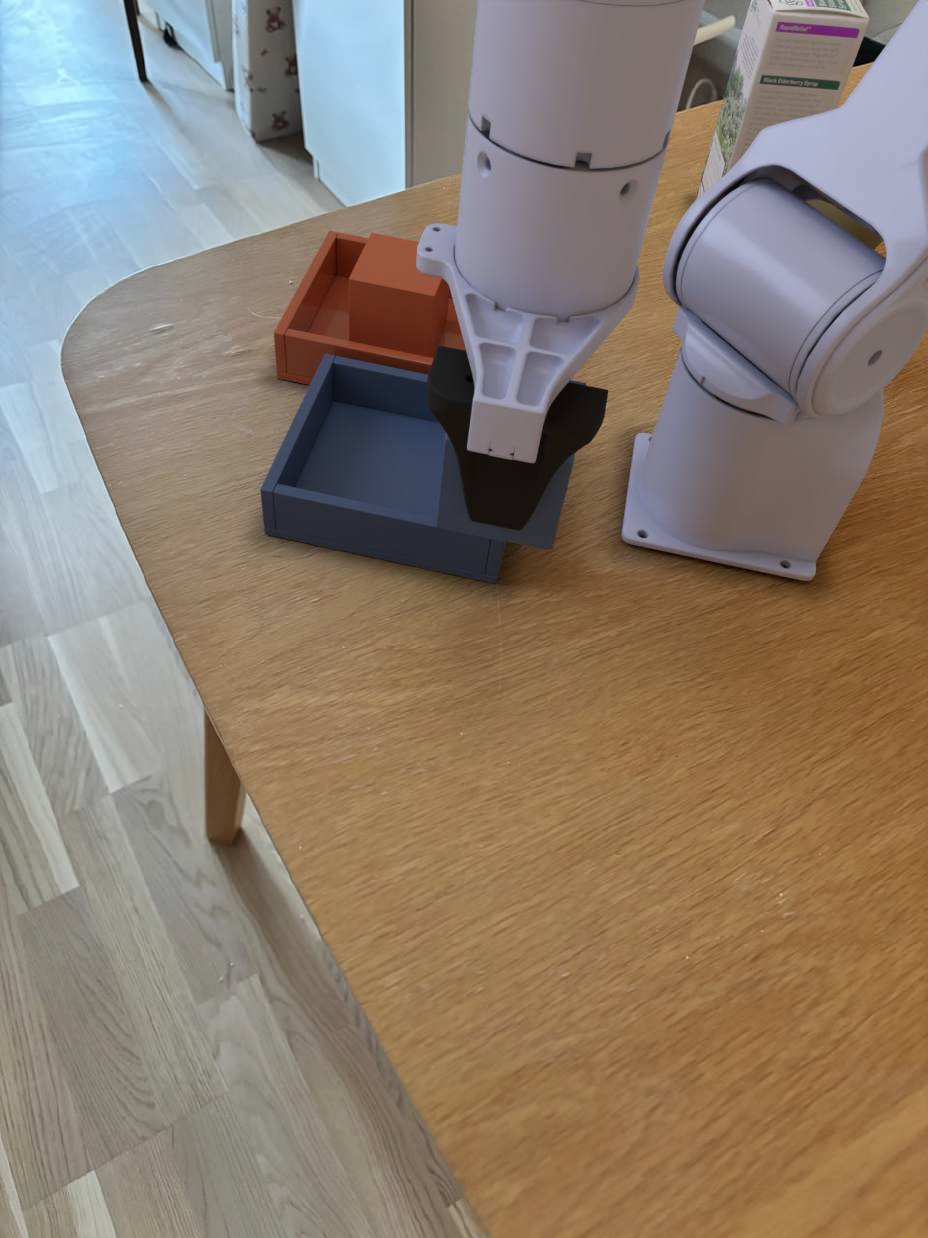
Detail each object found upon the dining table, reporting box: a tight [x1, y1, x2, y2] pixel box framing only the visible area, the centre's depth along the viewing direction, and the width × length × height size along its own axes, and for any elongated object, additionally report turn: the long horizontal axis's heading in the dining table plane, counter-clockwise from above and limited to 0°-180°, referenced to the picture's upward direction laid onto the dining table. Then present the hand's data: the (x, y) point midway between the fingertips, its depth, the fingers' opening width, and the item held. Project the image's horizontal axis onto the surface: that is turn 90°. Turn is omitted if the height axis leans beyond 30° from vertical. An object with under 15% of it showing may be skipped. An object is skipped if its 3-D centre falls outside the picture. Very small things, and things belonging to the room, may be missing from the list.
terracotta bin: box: [273, 230, 466, 386], centre depth 55 cm, size 11×10×3 cm
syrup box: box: [694, 0, 870, 201], centre depth 61 cm, size 6×6×14 cm
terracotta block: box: [349, 232, 450, 358], centre depth 54 cm, size 5×5×5 cm
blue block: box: [436, 379, 588, 551], centre depth 37 cm, size 5×5×5 cm
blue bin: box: [259, 354, 507, 585], centre depth 48 cm, size 11×10×3 cm
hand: (507, 471), depth 38 cm, fingers closed on blue block, 4 cm apart
